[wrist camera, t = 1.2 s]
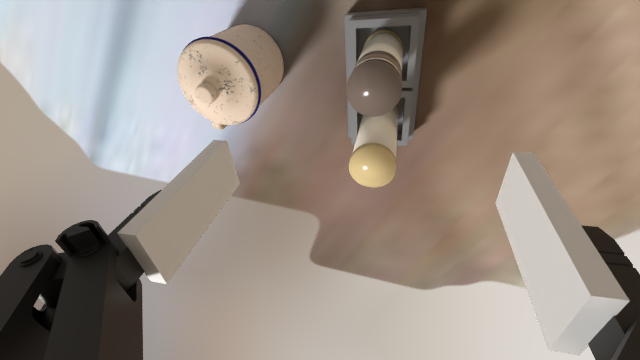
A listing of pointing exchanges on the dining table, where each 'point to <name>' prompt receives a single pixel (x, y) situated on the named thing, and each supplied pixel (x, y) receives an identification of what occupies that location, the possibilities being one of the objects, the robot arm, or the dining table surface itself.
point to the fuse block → (412, 36)
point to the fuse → (375, 150)
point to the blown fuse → (377, 75)
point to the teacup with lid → (230, 73)
